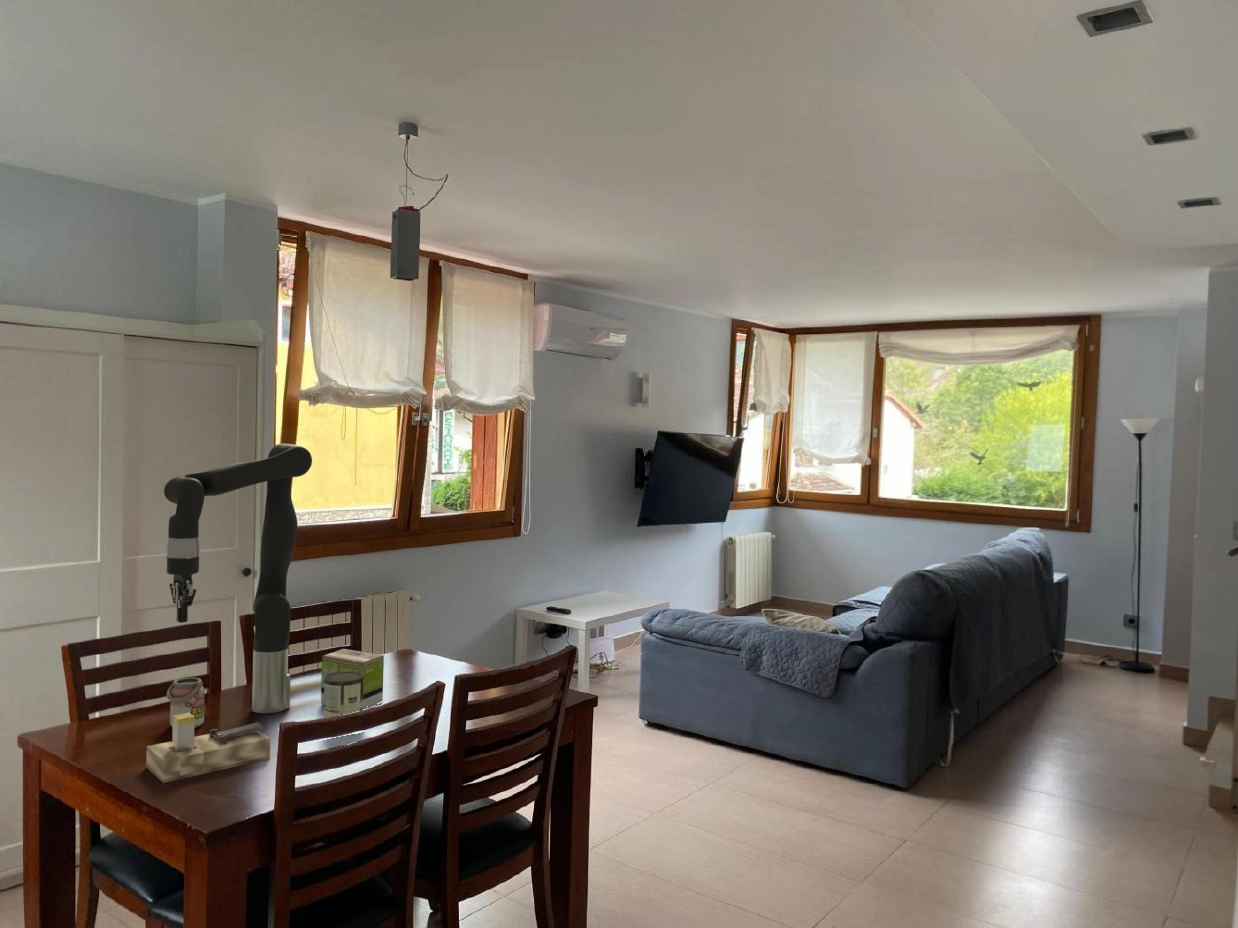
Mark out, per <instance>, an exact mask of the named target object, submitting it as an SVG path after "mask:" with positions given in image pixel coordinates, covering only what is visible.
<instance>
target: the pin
mask: <svg viewBox="0 0 1238 928" xmlns="http://www.w3.org/2000/svg"><path fill="white" fill-rule="evenodd" d="M194 724H195V716H193V715H192V714H190V713H184V714H179V715H173V728H172V733H171V734H172V736H171V737H172V751H173V752H175V753H178V752H183V751H187V750H192V749H194V737H195V728H194Z"/></svg>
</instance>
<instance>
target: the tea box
mask: <svg viewBox="0 0 1238 928" xmlns="http://www.w3.org/2000/svg"><path fill="white" fill-rule="evenodd" d="M384 656H385V655H383V654H379V653H378V654H377V653H371V652H364V651H359V650H353V649H346V648H341V649H338V650H336V651H334V652H330V653H327V654H324V655H321V674H320V675H321V676H320V677H321V678H320V679H321V680H320V681H321V682H320V704H321V705H323V706H324V677H325V676H326V675H328V674H331V673H336V672H358V673H362V674H363V675H364V679H363V709H366V708H370V707H372V706H375V705H377V703H379V702H381V701H382V702H383V700H384V698H383V697H384V695H383V694H384V670H385V669H384V668H385V667H384V665H385V664H384V663H385V662H384V661H385V657H384ZM367 706H368V707H367ZM375 707H376V706H375Z"/></svg>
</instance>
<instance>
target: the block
mask: <svg viewBox="0 0 1238 928" xmlns="http://www.w3.org/2000/svg"><path fill="white" fill-rule="evenodd" d="M214 732H219V729H218V728H213V729H209V733H206V734H202V735H196V736H194V749H192V750H187V751H183V752H178V753H175V752H173V751H172V741H167V742H162V743H161V742H160V743H156V744H152V745H147V746H146V759H145V762H146V765H145V767H146V769H147V770H148V771H149V772H151V774H153V775H154V776H155V777H156V778H157V779H159V781H161V782H162V783H163V784H165V783H169V782H174V781H179V780H183V779H187V778H192V777H197V776H201V775H205V774H210V773H213V772H214V773H215V772H218V771H223V770H227V769H230V768H231V769H232V768H237V767H240V766H245V765H248V764H252V763H257V762H262V761H267V760H271V738H270V737H269V736H267V735H266V734H264V733H263V732H261V731H260V730H258V731H255V732H251V733H247V734H243V735H240V736H236V737H232V738H228V739H227V735H224V736H219V741H218V740H217V739H215V738H214V737H213V736H212V734H213V733H214Z"/></svg>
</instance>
